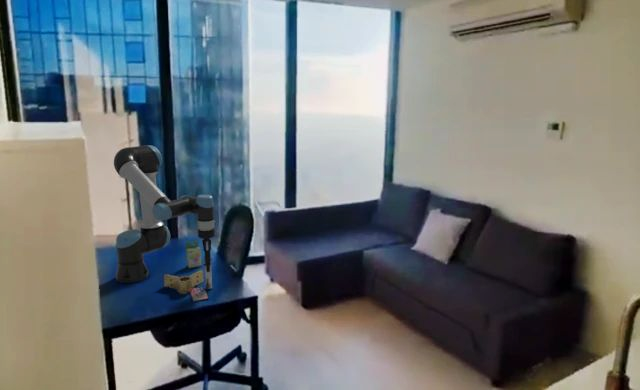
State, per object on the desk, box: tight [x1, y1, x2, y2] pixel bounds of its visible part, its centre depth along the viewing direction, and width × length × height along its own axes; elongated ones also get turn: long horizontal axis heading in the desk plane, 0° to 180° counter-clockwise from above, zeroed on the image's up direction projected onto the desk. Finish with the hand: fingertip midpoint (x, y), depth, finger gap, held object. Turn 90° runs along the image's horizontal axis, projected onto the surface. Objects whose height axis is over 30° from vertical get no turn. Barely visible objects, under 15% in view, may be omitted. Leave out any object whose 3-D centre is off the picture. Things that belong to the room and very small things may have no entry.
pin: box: [203, 257, 213, 290], centre depth 212 cm, size 3×3×15 cm
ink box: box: [185, 240, 203, 269], centre depth 240 cm, size 7×4×13 cm, turn 120°
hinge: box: [163, 269, 205, 295], centre depth 217 cm, size 15×16×6 cm
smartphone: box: [188, 285, 210, 303], centre depth 209 cm, size 8×1×15 cm
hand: (208, 276), depth 213 cm, fingers closed on pin, 3 cm apart
